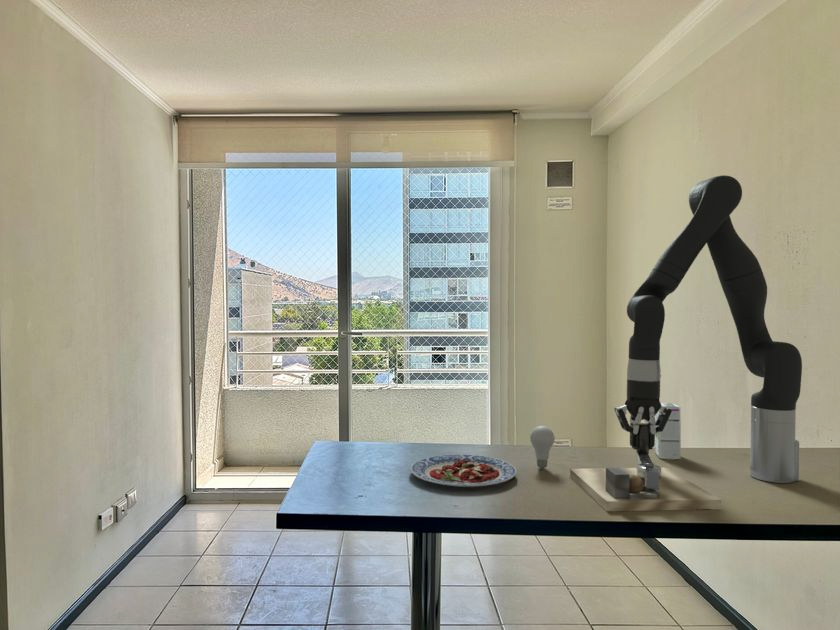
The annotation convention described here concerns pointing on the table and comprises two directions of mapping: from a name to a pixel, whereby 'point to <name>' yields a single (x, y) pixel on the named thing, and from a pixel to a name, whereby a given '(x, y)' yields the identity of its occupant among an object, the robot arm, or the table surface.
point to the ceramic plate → (463, 470)
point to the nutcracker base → (614, 491)
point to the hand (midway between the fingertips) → (641, 448)
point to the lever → (646, 460)
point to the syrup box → (669, 435)
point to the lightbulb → (542, 444)
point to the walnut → (635, 484)
